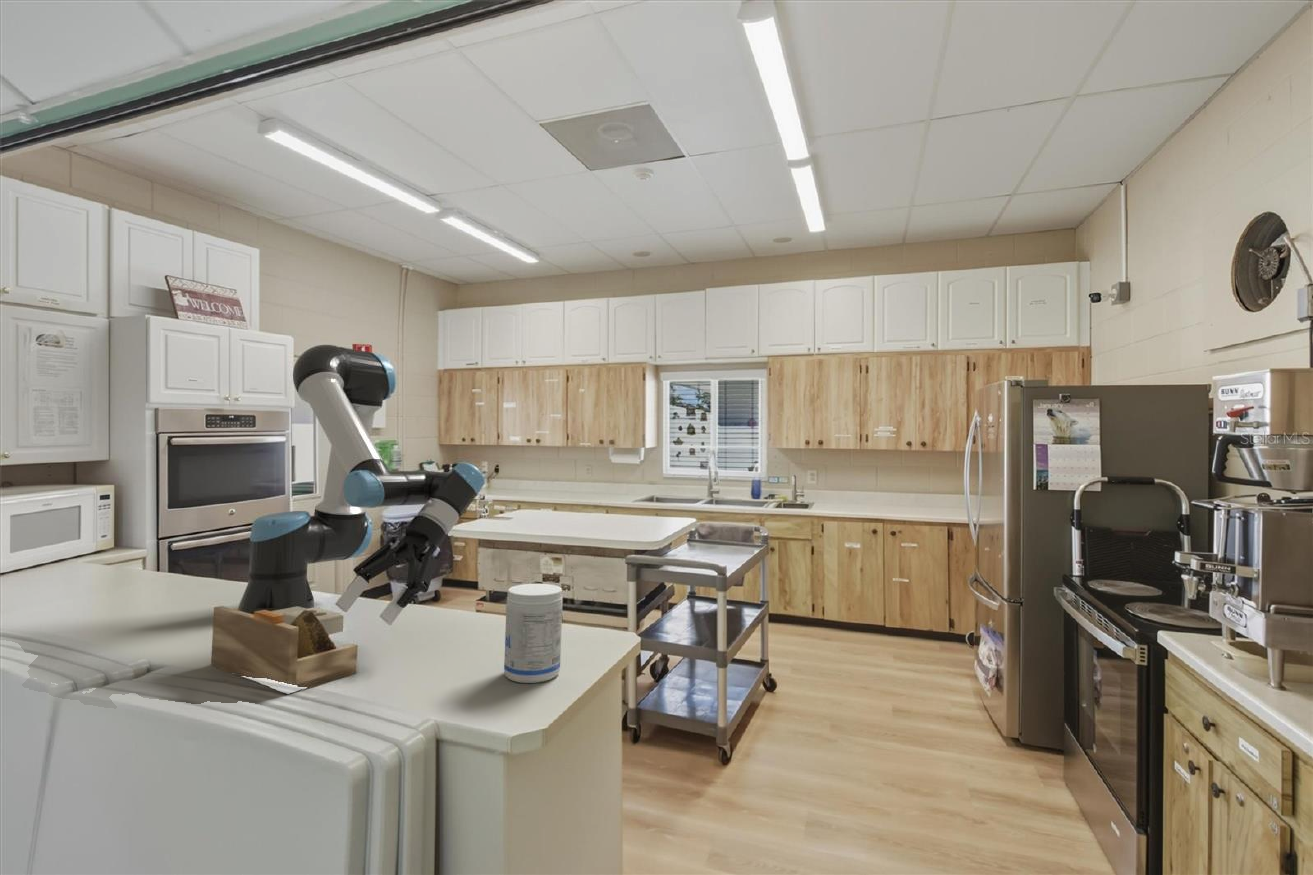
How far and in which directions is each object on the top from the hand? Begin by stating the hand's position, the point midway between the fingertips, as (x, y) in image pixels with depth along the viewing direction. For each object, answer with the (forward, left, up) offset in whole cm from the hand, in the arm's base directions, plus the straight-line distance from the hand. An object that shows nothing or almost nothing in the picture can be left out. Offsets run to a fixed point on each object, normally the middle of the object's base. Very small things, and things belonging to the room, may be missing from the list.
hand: (361, 614), depth 110 cm
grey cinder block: (-4, -27, -8) cm, 28 cm away
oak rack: (+12, -4, -7) cm, 14 cm away
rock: (+11, +1, -6) cm, 13 cm away
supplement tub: (-10, +33, -8) cm, 36 cm away
